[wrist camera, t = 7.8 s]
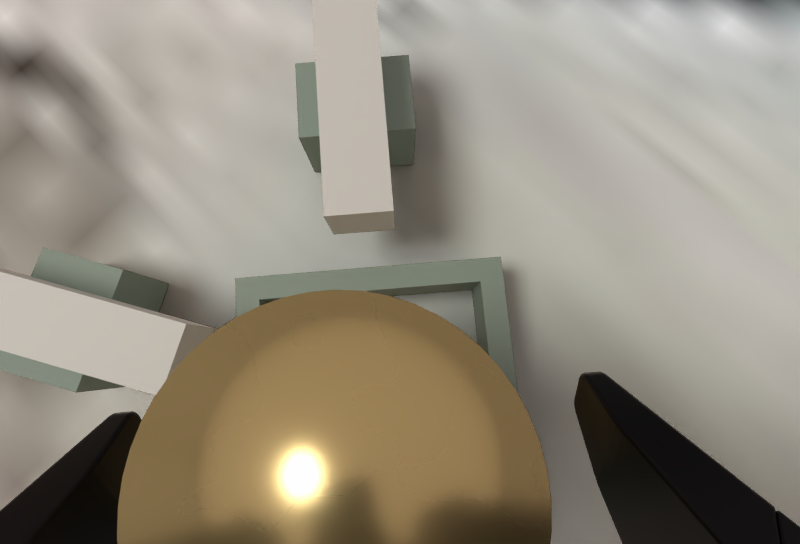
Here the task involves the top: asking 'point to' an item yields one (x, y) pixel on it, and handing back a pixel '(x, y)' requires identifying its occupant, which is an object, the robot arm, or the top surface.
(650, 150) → the top surface
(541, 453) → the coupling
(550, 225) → the top surface
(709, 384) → the top surface
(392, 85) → the shaft bench
